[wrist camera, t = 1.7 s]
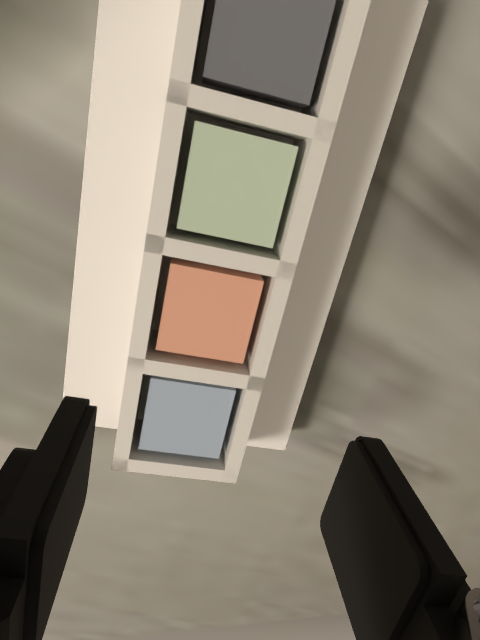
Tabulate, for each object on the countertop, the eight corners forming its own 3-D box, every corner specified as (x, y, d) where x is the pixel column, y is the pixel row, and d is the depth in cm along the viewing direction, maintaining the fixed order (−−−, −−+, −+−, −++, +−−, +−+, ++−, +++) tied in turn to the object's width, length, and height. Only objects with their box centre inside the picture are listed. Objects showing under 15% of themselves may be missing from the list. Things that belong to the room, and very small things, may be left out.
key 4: (154, 361, 23) (150, 378, 21) (233, 373, 24) (236, 390, 22) (142, 428, 25) (138, 449, 23) (217, 438, 25) (218, 458, 24)
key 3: (172, 253, 21) (170, 263, 19) (259, 271, 22) (264, 281, 20) (158, 334, 23) (155, 349, 21) (239, 348, 23) (242, 363, 22)
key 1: (223, -41, 17) (226, -62, 15) (328, -8, 18) (342, -24, 16) (201, 82, 18) (202, 76, 17) (299, 108, 19) (309, 105, 17)
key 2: (195, 122, 19) (194, 120, 17) (290, 146, 20) (298, 146, 18) (178, 221, 20) (176, 228, 19) (266, 240, 21) (272, 248, 20)
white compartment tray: (117, -81, 19) (87, -167, 14) (408, 13, 21) (477, -30, 16) (69, 403, 27) (40, 463, 22) (279, 431, 30) (296, 491, 25)
